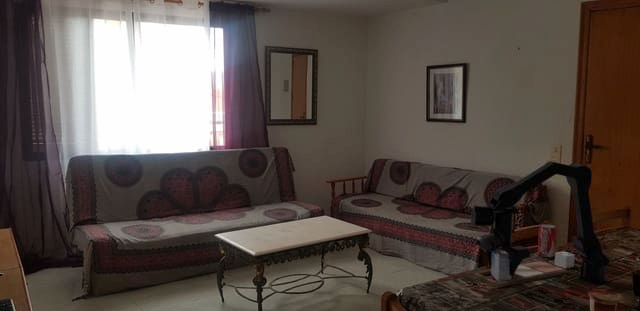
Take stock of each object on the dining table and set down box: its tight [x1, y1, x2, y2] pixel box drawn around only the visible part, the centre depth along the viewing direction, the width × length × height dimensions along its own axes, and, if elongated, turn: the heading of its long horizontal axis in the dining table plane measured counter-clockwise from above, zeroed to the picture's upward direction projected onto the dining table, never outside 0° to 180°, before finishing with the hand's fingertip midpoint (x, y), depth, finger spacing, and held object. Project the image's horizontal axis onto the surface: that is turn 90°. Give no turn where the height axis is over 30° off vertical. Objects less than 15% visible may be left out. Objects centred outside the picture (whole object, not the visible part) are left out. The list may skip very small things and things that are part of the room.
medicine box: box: [490, 249, 512, 282], centre depth 164 cm, size 8×4×9 cm, turn 179°
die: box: [554, 250, 575, 269], centre depth 178 cm, size 4×4×5 cm
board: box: [470, 260, 569, 289], centre depth 169 cm, size 12×33×1 cm, turn 116°
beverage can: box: [537, 223, 558, 258], centre depth 189 cm, size 6×6×12 cm
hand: (500, 271), depth 165 cm, fingers closed on medicine box, 9 cm apart
